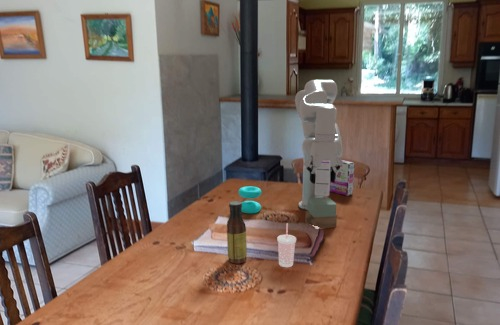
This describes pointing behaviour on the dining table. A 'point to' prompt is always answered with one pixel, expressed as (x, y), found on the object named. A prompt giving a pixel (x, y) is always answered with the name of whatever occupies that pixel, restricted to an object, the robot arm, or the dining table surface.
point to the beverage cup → (286, 249)
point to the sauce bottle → (236, 234)
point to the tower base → (321, 221)
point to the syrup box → (323, 178)
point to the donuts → (250, 193)
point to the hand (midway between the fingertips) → (322, 182)
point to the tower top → (321, 207)
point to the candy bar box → (344, 179)
